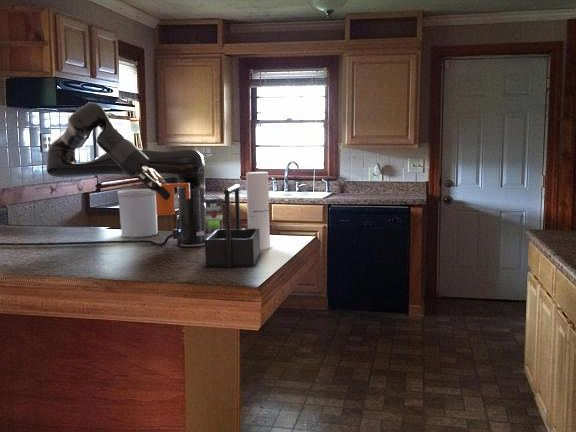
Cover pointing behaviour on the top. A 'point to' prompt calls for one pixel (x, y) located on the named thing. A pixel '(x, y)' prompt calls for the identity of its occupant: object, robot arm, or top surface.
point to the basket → (232, 241)
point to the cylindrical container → (258, 206)
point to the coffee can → (213, 214)
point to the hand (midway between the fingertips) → (170, 196)
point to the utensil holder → (138, 212)
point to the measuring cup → (169, 199)
